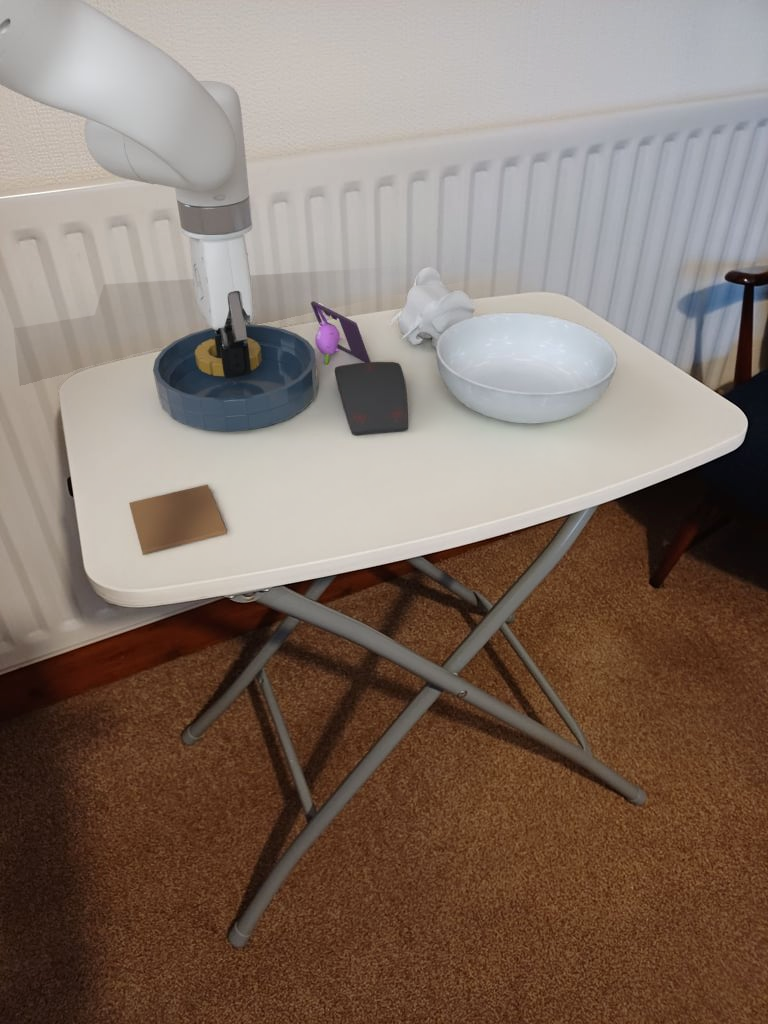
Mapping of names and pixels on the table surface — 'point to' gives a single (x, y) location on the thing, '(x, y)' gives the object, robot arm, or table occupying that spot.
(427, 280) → the elephant figurine
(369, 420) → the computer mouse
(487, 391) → the serving bowl
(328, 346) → the purple piece
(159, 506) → the coaster
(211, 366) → the ring
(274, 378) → the bowl
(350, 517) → the table surface
